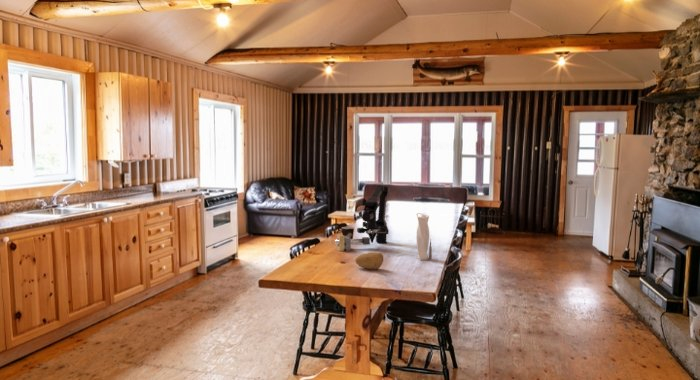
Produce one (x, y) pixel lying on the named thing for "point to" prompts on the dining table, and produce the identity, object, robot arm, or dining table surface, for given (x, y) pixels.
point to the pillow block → (347, 243)
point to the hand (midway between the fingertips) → (371, 242)
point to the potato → (370, 260)
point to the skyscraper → (423, 238)
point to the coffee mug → (347, 231)
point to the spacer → (340, 242)
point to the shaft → (357, 241)
